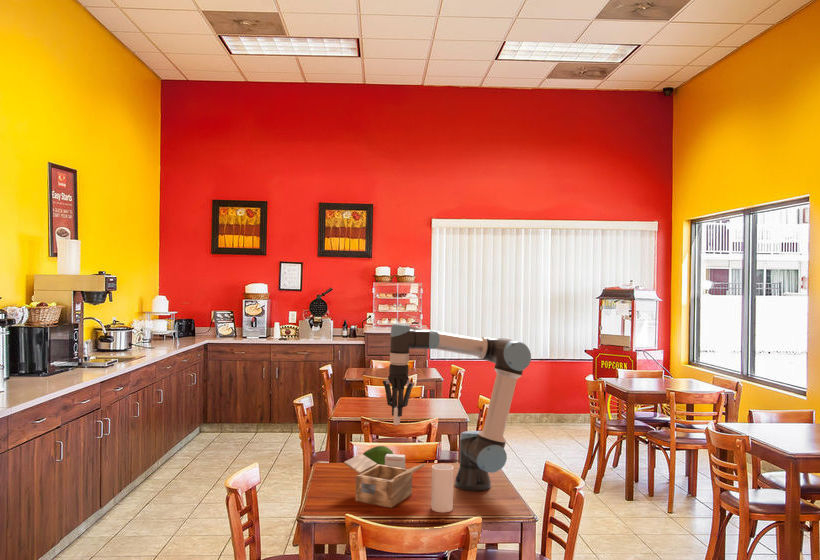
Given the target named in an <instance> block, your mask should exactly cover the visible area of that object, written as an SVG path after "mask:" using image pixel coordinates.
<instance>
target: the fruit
mask: <svg viewBox="0 0 820 560" xmlns="http://www.w3.org/2000/svg"><path fill="white" fill-rule="evenodd" d="M362 454H363V455H365V456H366V457H368V458H369V459H371V460H372V461H374V462H375V463H377V464H380V465H385V456H386V454H394V451H393V450H391V449H390V447H388V446H384V445H378V446H374V447H371V448H369V449H367V450H365V451H364V452H363V453H362Z"/></svg>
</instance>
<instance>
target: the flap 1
mask: <svg viewBox="0 0 820 560" xmlns="http://www.w3.org/2000/svg"><path fill="white" fill-rule="evenodd" d="M343 464H344V465H346V466H347V467H348V468H350V469H351V470H353V471H355V472H356V473H357V474H360V473H362V472H364V471H366V470H368V469H370V468H371V467H373V466H375V465H377V463H375V462H374V461H372V460H371V459H369V458H368V457H366V456H365V455H363V453H360V454H358V455H356V456H354V457H351V458H350V459H347V460H345V461H344V462H343Z"/></svg>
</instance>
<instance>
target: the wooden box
mask: <svg viewBox="0 0 820 560" xmlns="http://www.w3.org/2000/svg"><path fill="white" fill-rule="evenodd" d="M408 469H409V468H406V467H405V468H399V467H393V466H387V465H380V464H377V465H375V466H373V467H371V468H370V469H368V470H366V471H364V472H362V473H360V474H359V473H357V474H356V475H355V502H360V503H363V504H369V505H374V506H379V507H384V508H389V509H392V508H394V507H395V506H397V505H398V504H400V503H401V502H403V501H404V500H406V499H408V498H409V497H410V496H412V495H413V473H412V474H410V475H407V476H404V477H401V478H398V479H395V480H394V479H393V478H394V477H396V476H397V475H399V474H401V473H403V472H404V471H406V470H408Z"/></svg>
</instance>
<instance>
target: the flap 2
mask: <svg viewBox="0 0 820 560" xmlns="http://www.w3.org/2000/svg"><path fill="white" fill-rule="evenodd" d="M426 465H427V463H426V462H425V463H421V464H419V465H415V466H413V467H410V468H407V469H408V470H406V471H404V472H403V473H401V474H399V475H397V476H396V477H394V478H393V479H394V480H395V479H398V478H401V477H404V476H407V475H410V474H412V475H413V474H414V473H415V472H417V471H419V470H420V469H422V468H423V467H425V466H426Z"/></svg>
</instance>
